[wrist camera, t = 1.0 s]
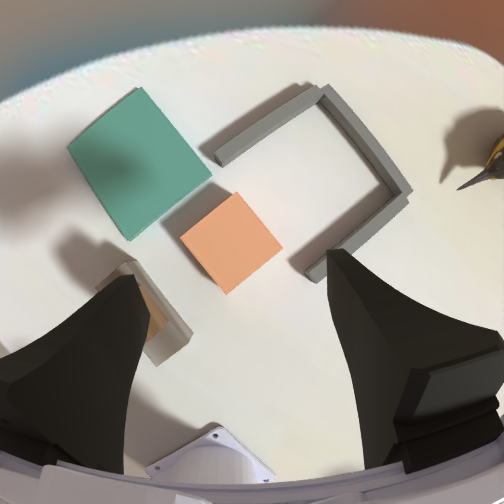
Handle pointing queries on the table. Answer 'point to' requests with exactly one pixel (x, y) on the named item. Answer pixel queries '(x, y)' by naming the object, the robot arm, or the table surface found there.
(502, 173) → the bird model
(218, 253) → the orange block
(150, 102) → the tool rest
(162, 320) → the two-tone wooden block
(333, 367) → the table surface
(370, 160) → the corral
